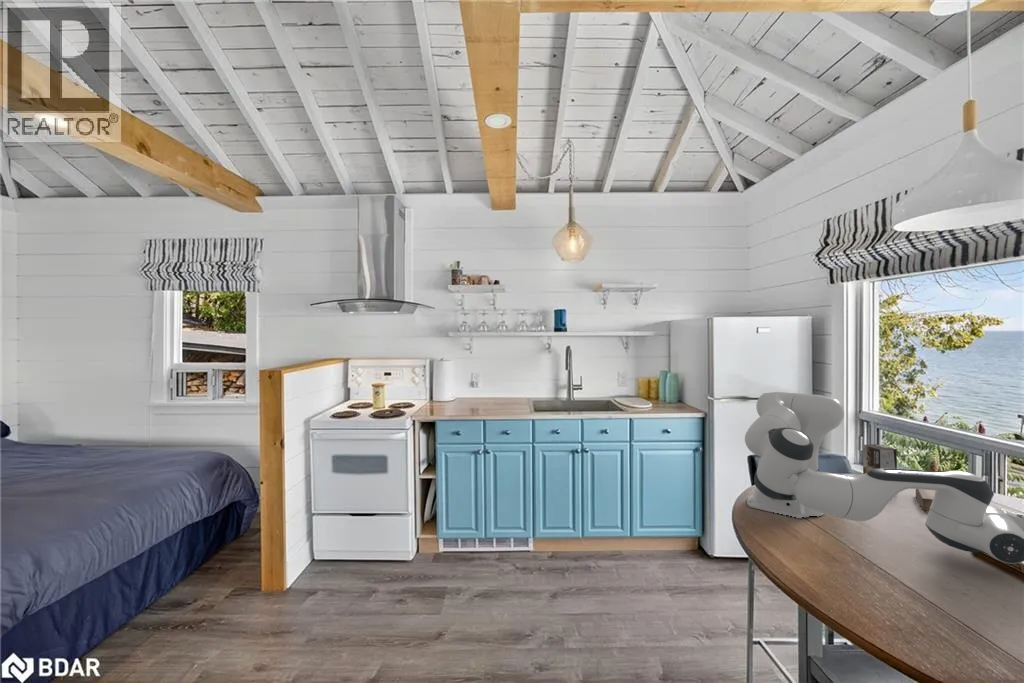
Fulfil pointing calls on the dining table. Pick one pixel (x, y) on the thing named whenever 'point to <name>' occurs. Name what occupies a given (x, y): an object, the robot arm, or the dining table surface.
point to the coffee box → (878, 457)
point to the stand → (925, 498)
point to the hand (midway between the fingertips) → (979, 508)
